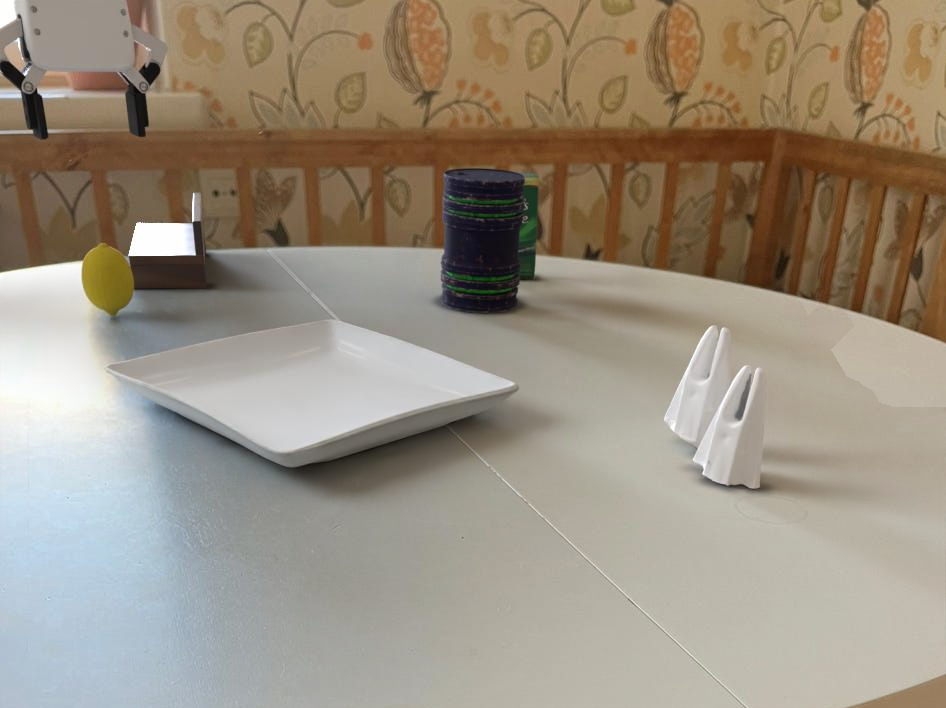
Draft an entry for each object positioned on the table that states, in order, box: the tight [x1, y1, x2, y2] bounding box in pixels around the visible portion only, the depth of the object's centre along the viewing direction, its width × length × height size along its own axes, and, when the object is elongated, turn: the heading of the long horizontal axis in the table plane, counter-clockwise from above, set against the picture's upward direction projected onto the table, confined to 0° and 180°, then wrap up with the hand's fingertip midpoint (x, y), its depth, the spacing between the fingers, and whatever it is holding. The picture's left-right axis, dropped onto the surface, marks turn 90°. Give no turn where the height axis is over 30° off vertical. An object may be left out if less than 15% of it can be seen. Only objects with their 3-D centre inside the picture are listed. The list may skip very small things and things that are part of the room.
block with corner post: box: [128, 192, 208, 290], centre depth 138 cm, size 20×9×8 cm, turn 13°
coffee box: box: [518, 173, 540, 280], centre depth 141 cm, size 8×3×13 cm, turn 95°
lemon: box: [80, 242, 135, 317], centre depth 118 cm, size 6×6×8 cm
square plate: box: [102, 318, 520, 468], centre depth 95 cm, size 27×27×4 cm
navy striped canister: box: [440, 167, 525, 314], centre depth 128 cm, size 10×10×15 cm
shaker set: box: [663, 324, 767, 490], centre depth 87 cm, size 12×4×11 cm, turn 14°
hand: (90, 136), depth 106 cm, fingers open, 9 cm apart
